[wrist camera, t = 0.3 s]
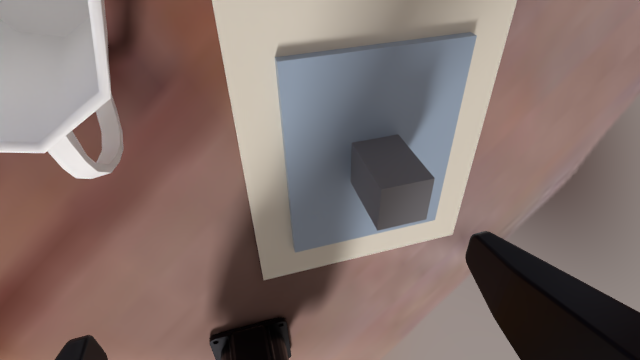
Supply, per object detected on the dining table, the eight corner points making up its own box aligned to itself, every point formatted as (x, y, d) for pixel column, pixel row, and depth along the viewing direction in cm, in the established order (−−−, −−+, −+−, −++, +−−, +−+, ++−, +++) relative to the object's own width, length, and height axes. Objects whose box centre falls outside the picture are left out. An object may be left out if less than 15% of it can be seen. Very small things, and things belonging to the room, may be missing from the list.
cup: (79, -170, 13) (-4, -203, 7) (192, 91, 20) (199, 190, 14) (-141, -123, 13) (-441, -114, 6) (51, 132, 19) (-7, 256, 13)
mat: (450, 231, 33) (452, 234, 33) (262, 276, 30) (263, 280, 30) (520, -34, 20) (526, -33, 20) (210, -5, 17) (211, -3, 17)
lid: (431, 214, 30) (467, 264, 27) (293, 246, 28) (311, 305, 24) (470, 32, 22) (533, 67, 18) (274, 57, 19) (298, 103, 16)
